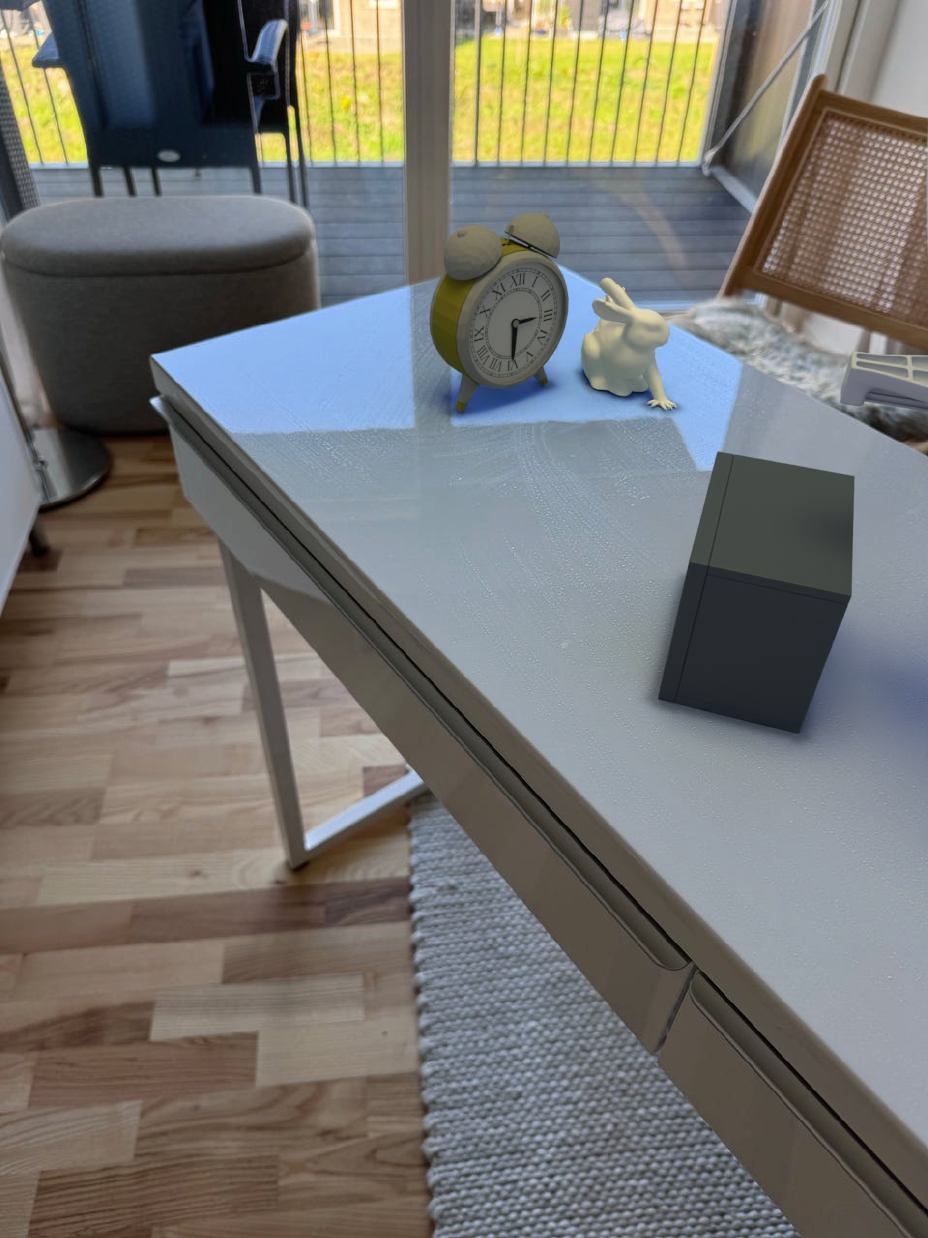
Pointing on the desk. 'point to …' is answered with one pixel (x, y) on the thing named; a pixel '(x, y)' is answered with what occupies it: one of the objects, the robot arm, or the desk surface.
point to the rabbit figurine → (624, 346)
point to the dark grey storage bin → (762, 591)
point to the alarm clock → (499, 304)
